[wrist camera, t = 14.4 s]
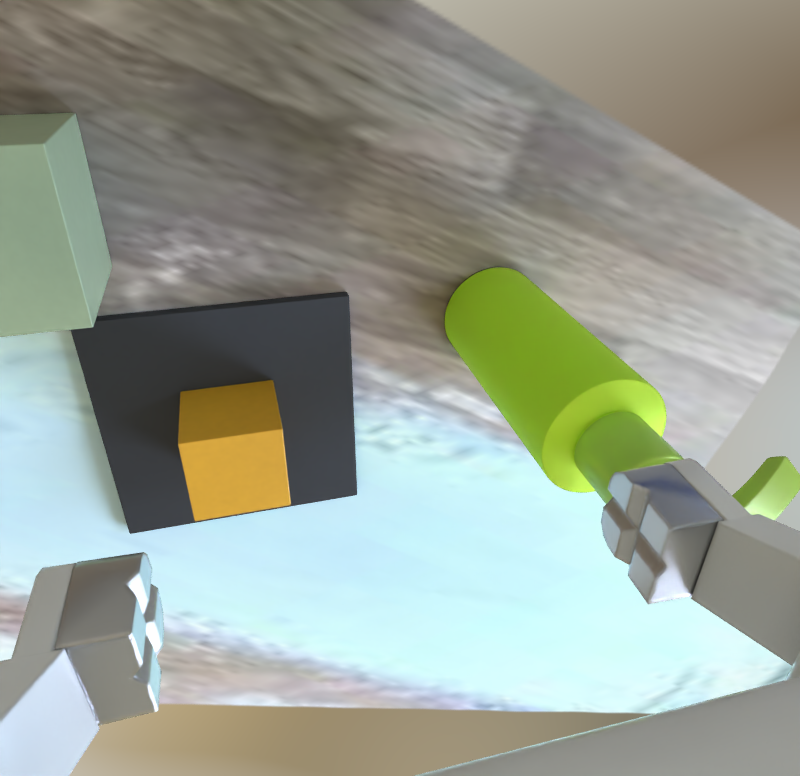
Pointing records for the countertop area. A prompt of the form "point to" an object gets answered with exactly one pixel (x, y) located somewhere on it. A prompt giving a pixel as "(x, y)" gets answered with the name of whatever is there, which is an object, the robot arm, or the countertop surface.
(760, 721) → the robot arm
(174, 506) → the mat
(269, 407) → the top cube
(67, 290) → the base block
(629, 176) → the countertop surface
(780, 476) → the soap dispenser
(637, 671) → the countertop surface
